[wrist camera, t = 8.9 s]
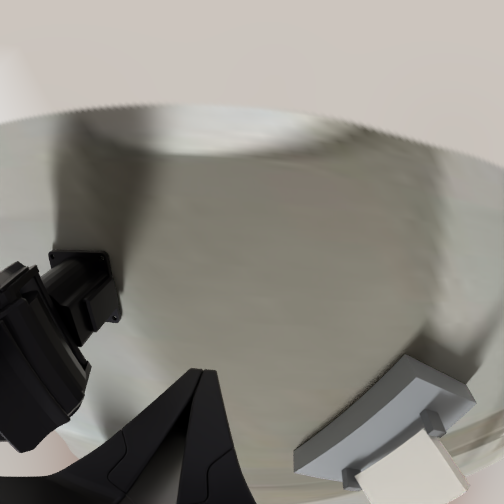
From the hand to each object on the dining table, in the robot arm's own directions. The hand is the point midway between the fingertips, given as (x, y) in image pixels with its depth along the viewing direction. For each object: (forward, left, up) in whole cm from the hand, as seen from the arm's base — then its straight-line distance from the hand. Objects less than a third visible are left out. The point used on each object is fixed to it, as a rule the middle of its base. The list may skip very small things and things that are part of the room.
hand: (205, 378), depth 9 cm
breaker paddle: (+15, -21, -9) cm, 27 cm away
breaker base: (+15, -21, -13) cm, 29 cm away
